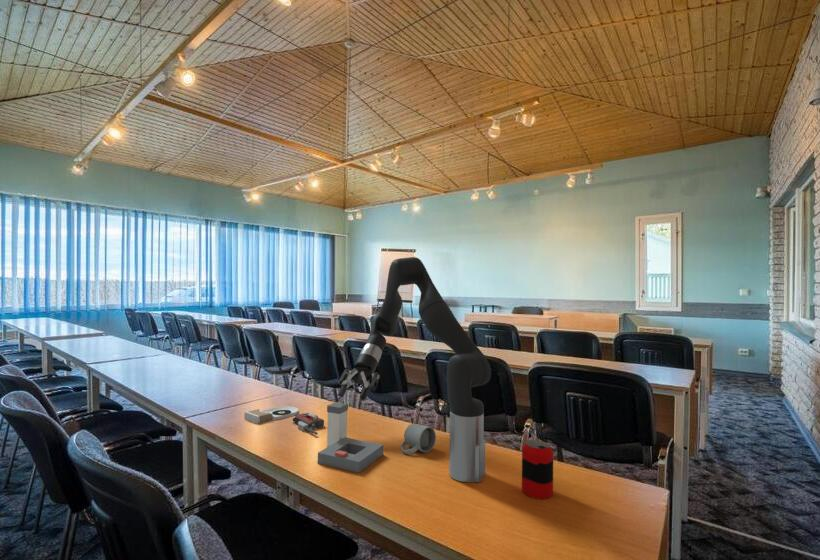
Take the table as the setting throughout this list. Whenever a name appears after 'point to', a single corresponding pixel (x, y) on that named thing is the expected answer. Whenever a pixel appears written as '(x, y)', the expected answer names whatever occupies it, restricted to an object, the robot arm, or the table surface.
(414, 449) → the ceramic mug
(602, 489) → the table surface
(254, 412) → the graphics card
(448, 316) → the robot arm
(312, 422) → the walkie-talkie
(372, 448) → the socket
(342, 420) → the plug
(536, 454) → the soda can
